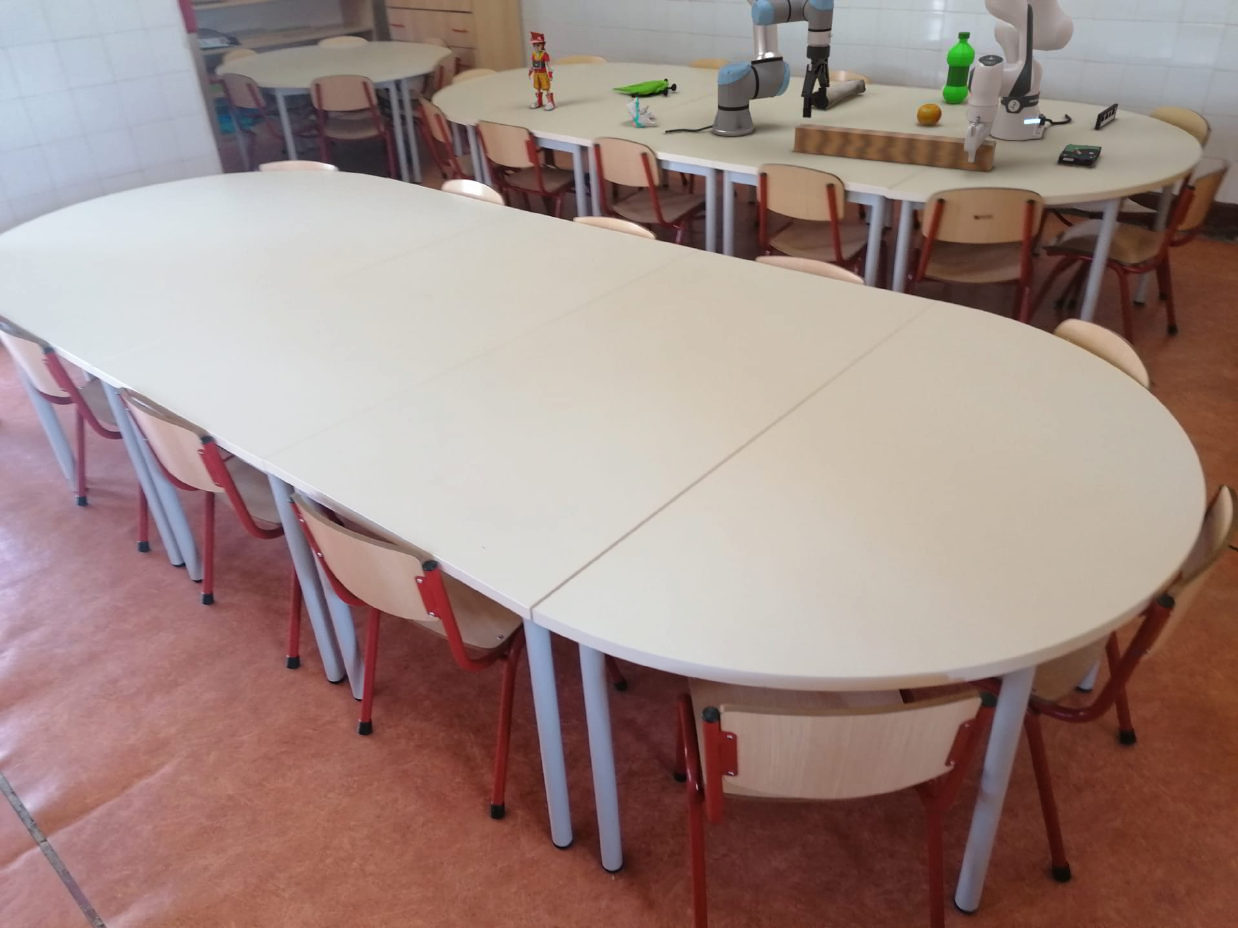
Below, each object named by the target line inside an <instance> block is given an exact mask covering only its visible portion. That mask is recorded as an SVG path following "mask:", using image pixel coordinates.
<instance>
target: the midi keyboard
mask: <svg viewBox="0 0 1238 928" xmlns="http://www.w3.org/2000/svg"><path fill="white" fill-rule="evenodd" d="M1118 106H1119V103H1114V104H1112V105H1110V106H1109V107H1107V108H1106V109H1104V110H1103V111H1101V112H1099V113H1098V114H1097V116H1096V120H1095V121H1096V122H1095V126H1094V130H1100V129H1101V128H1102V127H1103V126H1104V125H1106V124H1108V123H1109V122H1111V121H1112V120H1113V119H1115V118H1116V115H1117V111H1118Z"/></svg>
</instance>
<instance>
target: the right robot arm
mask: <svg viewBox="0 0 1238 928" xmlns="http://www.w3.org/2000/svg"><path fill="white" fill-rule="evenodd" d="M1059 4H1060V3H1059V2H1058V0H984V6H985V9H986V10H987V11H988V13H989V14H990V15H992V16H993V17H995V18H997V20H996V22H995V25H994V28H993V34H994V39H995V41H996V43H998V45H999V46H1000V48H1001V49H1002V51H1003V54H1004V57H1005V60H1004V58H1003V57H1002V56H1000V55H997V54H986V55H983V56H981V57H979V58H978V59H977V61H976V64H975V66H974V67H973V68H972V69H971V70H969V76H968V82H967V86H968V92H969V93H970V97H969V99H968V102H967V107H966V112H965V120H966V121H968V127H967V130H966V134H965V138H966V139H965V144H964V151H968V155H969V157H968V162H974V160H975V153H976V150H977V149H978V148H979V146H980V145H981V143H982V142H983V141H984V140H987V138H988V137H989V136H992V137H993V138H996V139H1001V140H1006V141H1007V140H1008V141H1027V140H1035V139H1039V140H1040V139H1042V136H1043V133H1044V130H1045V124H1046V122H1048V123H1049V124H1050V125H1064V124H1069V123H1071V121H1072V117H1071V116H1069V114H1068V113H1065V114H1064V117H1065V119H1067V120H1061V121H1053V120H1052V119H1051V118H1047V117H1046V115H1044V114H1043V113H1041V110H1040V107H1039V105H1038V104H1039V101H1040V96H1041V95H1040V94H1041V90H1040V88H1041V82H1042V78H1043V66H1042V64H1041V63H1040V62H1038V60H1036V59H1035V57H1034V55H1033V53H1034V50H1036V51H1044V52H1051V51H1059V50H1062V49H1064V48H1065V47H1066V46H1067V45H1068V44H1069V43H1070V41H1071V40H1072V37H1073V35H1074V23H1073V21H1072V18H1070V17H1069V16H1068V15H1067V14H1066V13H1065V12H1064V11H1063V10H1062V8H1061V6H1060V5H1059ZM999 98H1000V100H999ZM999 101H1000V102H999ZM999 103H1000V104H999Z"/></svg>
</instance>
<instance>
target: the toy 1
mask: <svg viewBox="0 0 1238 928" xmlns="http://www.w3.org/2000/svg"><path fill="white" fill-rule="evenodd" d="M529 33H530V35H531V36H528V37H527V38H528V39H529V40H528V41H527V43H529V44H530V43H531V44H532V48H533V50H534V51H533V52H532V55H531V58H530V59H531V63H530V66H528V74H527V75H528V76H527V77H528V79H529V80H531V75H532V74H533V84H532V85H533V86H532V87H533V88H534V89H535V90H536V92H534V95H535V97H536V100H535V101H533V102H531V105H530V108H531V109H535V108H538V107H542V106H544V101H543V100H544V99H543V95H544V92H546V94H545V97H546V99H547V103H546V104H545V106H544V110H546V111H549V110H553V109H554V107H555V106H556V105H555V99H554V92H551V91H550V90H551V86H552V84H551V82H552V81H553V80H554V77H553V73H554V71H555V70H554V69H552V68H551V63H550V61H551V59H550V58H551V57H550V54H549V53H548V52H547V50H546V48H545V46H546V44H547V41H545V35H544V33H543V32H542V33H539V32H535V31H529Z"/></svg>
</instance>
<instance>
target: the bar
mask: <svg viewBox="0 0 1238 928" xmlns="http://www.w3.org/2000/svg"><path fill="white" fill-rule="evenodd" d="M965 139H966V137H955V136H947V135H946V136H945V135H934V134H921V133H914V132H913V133H912V132H901V131H890V130H889V131H888V130H879V129H866V128H855V127H844V126H835V125H834V126H833V125H823V124H811V123H800V124H798V125H796V126H795V127H794V140H793V141H794V144H793V152H795V153H796V152H797V153H805V154H815V155H824V156H825V155H826V156H834V157H842V158H843V157H844V158H852V159H863V160H871V161H873V160H874V161H881V162H891V163H901V164H911V165H920V166H921V165H922V166H930V167H939V168H949V169H958V170H959V169H960V170H969V171H977V172H978V171H979V172H990V170H991V169H992V167H993V166H994V165H993V164H994V160H995V159H994V158H995V154H996V148H997V144H998V143H997V142H998V141H997V140H991V139H990V140H989V139H985V140H984V141H983V142H982V143H981V145H980V146H979V148H978V149H977V150H976V153H975V160H974V162H968V157H969V155H968V151H964V144H965Z"/></svg>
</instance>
